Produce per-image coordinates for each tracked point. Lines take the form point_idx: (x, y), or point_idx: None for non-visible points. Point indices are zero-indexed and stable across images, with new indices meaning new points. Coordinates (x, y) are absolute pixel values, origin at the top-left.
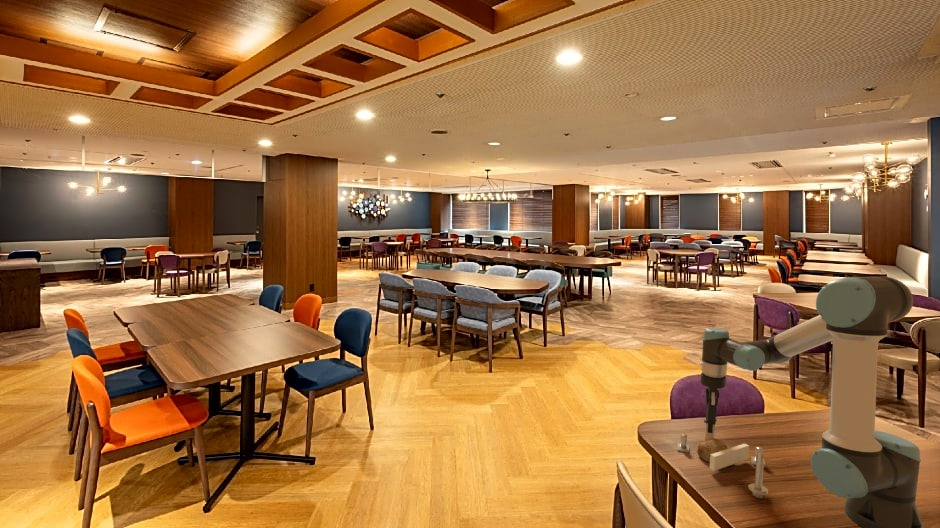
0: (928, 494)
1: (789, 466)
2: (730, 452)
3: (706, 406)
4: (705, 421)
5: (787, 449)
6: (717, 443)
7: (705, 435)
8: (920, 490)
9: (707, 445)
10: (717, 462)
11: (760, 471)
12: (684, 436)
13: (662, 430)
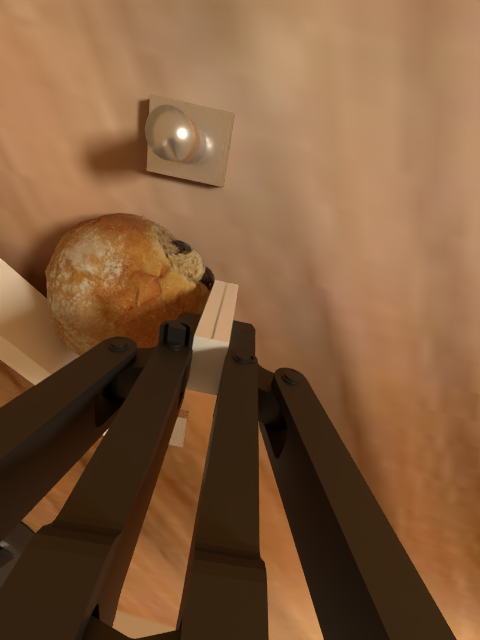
0: (142, 615)
1: (171, 484)
2: (10, 361)
3: (307, 445)
4: (167, 334)
5: (285, 513)
6: (72, 328)
7: (211, 293)
8: (153, 614)
9: (59, 268)
10: None
11: None
12: (146, 134)
13: (454, 39)
